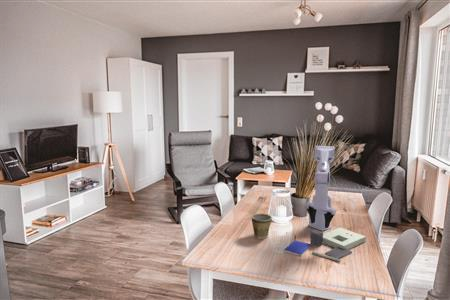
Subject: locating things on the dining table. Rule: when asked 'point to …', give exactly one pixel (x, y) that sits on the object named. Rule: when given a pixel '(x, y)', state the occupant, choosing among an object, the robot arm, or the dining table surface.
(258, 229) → the ceramic cup
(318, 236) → the grey rectangular block
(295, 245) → the hard drive
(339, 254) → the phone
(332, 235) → the outlet plate
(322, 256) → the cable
